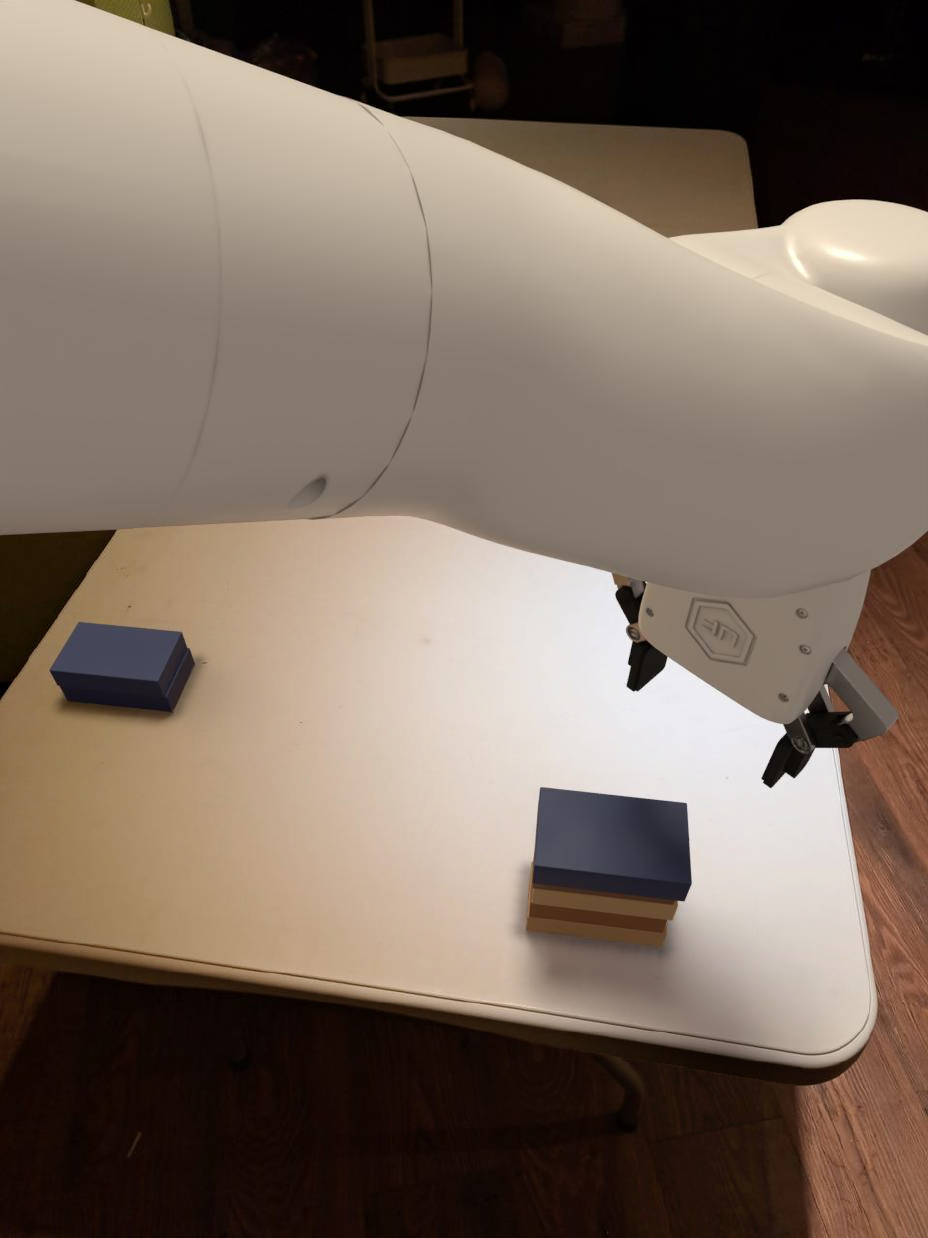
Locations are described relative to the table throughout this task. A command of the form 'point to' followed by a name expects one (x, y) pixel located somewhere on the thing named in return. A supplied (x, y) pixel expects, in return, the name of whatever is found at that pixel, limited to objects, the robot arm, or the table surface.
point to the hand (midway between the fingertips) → (709, 722)
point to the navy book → (612, 844)
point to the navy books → (123, 666)
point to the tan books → (598, 914)
